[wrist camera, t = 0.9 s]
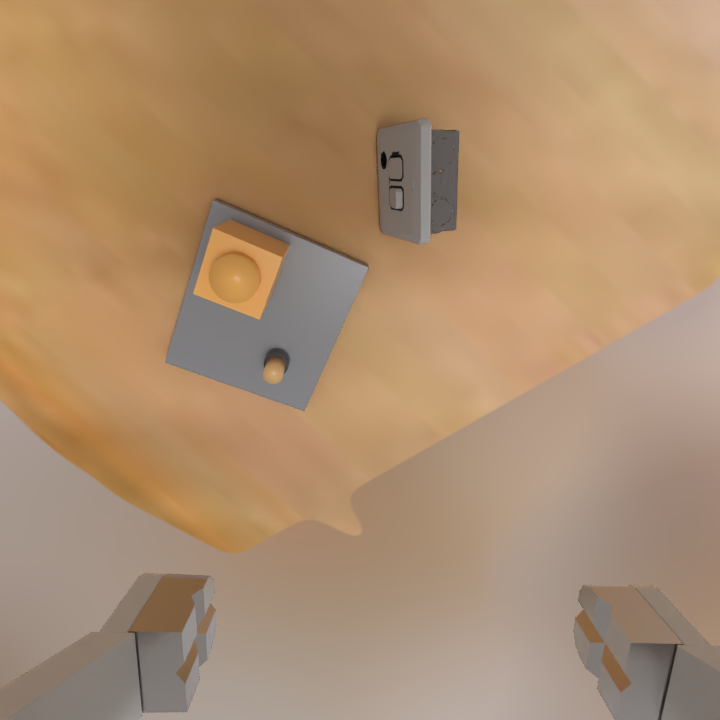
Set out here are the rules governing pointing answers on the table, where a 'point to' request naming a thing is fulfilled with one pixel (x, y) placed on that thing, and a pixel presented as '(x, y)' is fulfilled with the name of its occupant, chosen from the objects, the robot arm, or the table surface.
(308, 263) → the board
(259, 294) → the orange knobbed cube
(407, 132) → the electrical switch
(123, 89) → the table surface
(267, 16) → the table surface
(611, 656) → the robot arm
